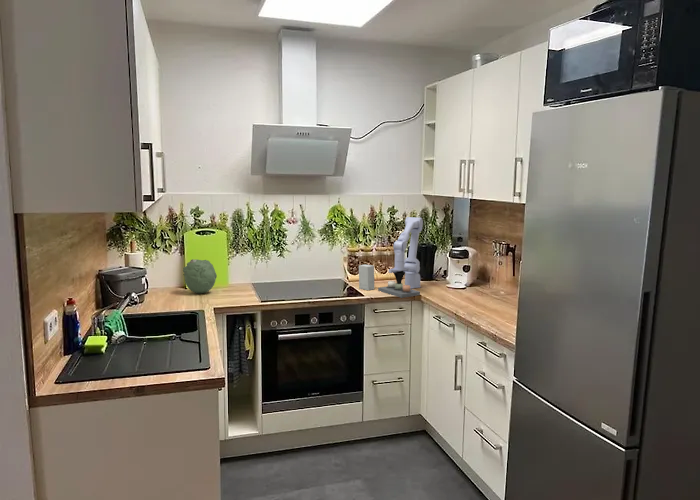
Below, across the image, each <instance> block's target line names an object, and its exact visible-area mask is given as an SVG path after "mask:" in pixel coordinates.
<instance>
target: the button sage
mask: <svg viewBox="0 0 700 500" xmlns="http://www.w3.org/2000/svg"><path fill="white" fill-rule="evenodd" d="M403 285H404V284H403V282H401V284H397V282H395V289H403Z"/></svg>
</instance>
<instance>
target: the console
mask: <svg viewBox="0 0 700 500" xmlns="http://www.w3.org/2000/svg"><path fill="white" fill-rule="evenodd" d="M377 291H378V292H380V291H381V293H384V294H387V293H388V294H387V295H390V294H391V296H394V297H398V298H401V299H403V298H404V299H405V298H410V297H416V296H421V291H420V290H419V291H418V290H415V289H413V288H412V289H410V291H409V292H405V291H403V289H395V287H388V285H386V286H380V287H379V286H378V288H377Z"/></svg>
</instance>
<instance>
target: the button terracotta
mask: <svg viewBox="0 0 700 500" xmlns="http://www.w3.org/2000/svg"><path fill="white" fill-rule="evenodd" d="M403 291H405V292H409V291H410V285H405V284H403Z"/></svg>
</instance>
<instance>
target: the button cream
mask: <svg viewBox="0 0 700 500" xmlns="http://www.w3.org/2000/svg"><path fill="white" fill-rule="evenodd" d="M395 283H396V280H395V281H393V280H389V281H387V286H388V287H395Z"/></svg>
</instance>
